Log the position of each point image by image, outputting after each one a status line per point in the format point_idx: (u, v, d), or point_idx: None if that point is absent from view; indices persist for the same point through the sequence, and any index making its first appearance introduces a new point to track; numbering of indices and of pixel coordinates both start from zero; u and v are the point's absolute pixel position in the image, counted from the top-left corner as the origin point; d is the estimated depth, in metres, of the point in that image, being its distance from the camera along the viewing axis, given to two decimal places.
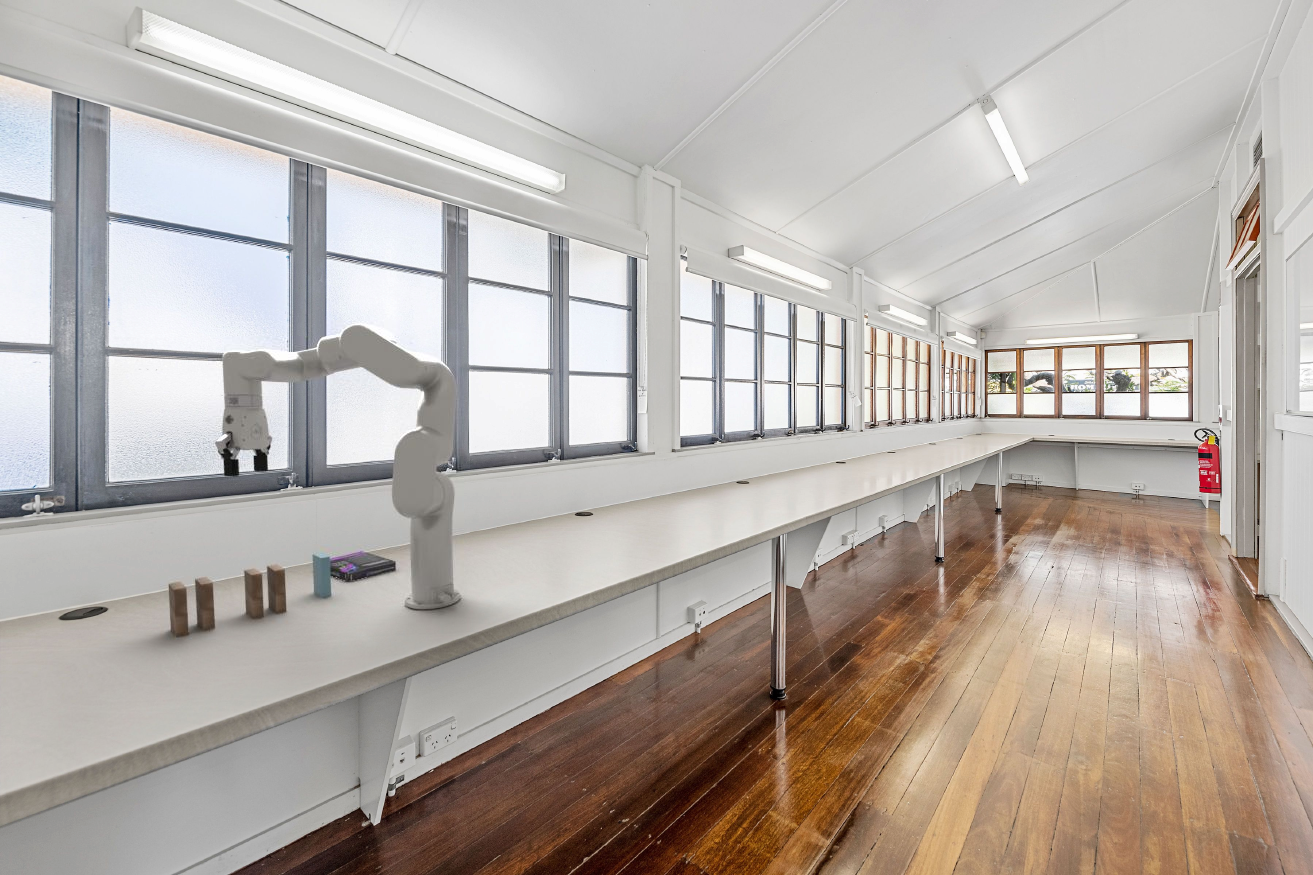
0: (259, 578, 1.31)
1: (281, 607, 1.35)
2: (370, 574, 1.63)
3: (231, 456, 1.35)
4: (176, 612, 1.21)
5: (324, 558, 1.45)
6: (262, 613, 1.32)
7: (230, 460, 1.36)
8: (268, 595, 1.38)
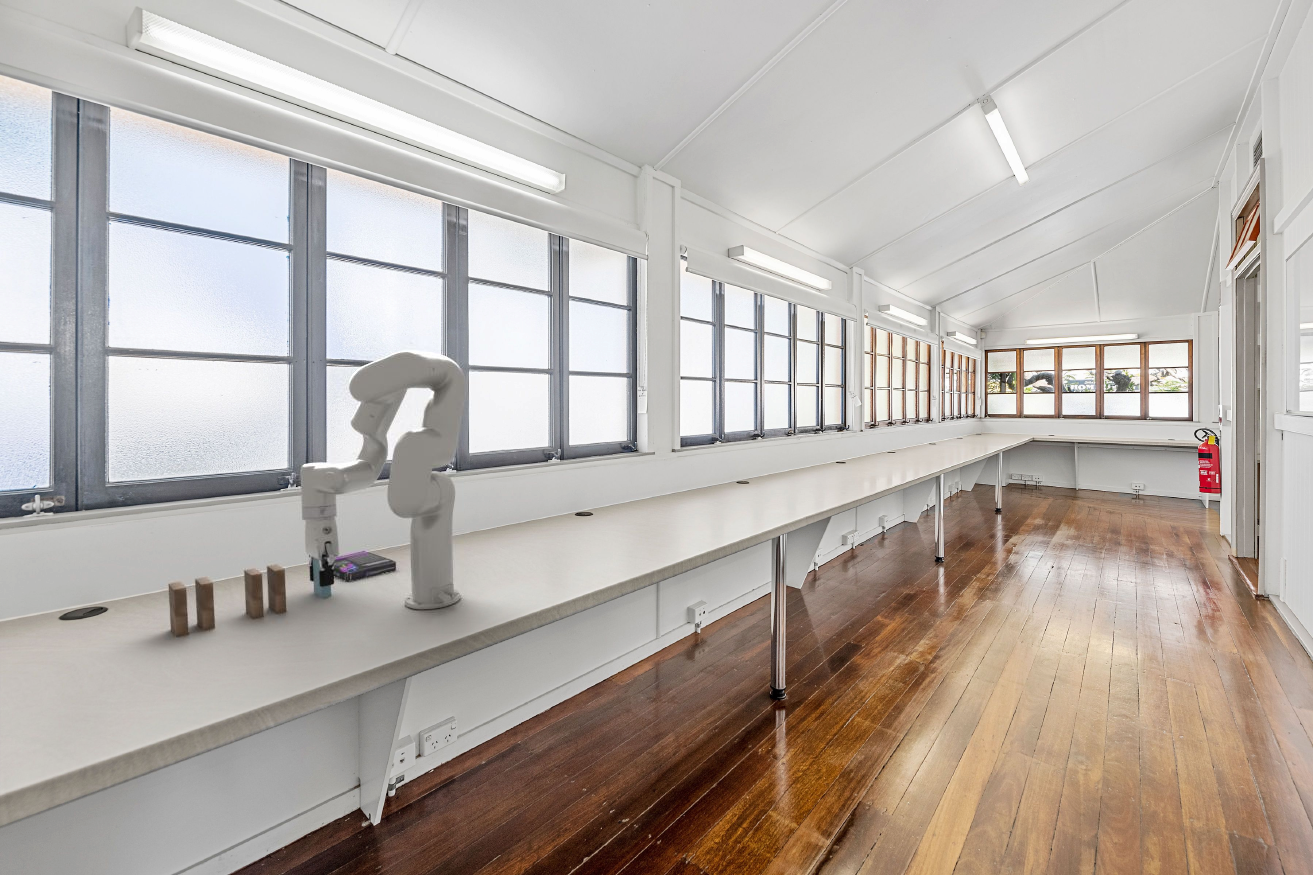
0: (259, 578, 1.31)
1: (281, 607, 1.35)
2: (370, 574, 1.63)
3: (332, 567, 1.45)
4: (176, 612, 1.21)
5: None
6: (262, 613, 1.32)
7: (330, 570, 1.45)
8: (268, 595, 1.38)
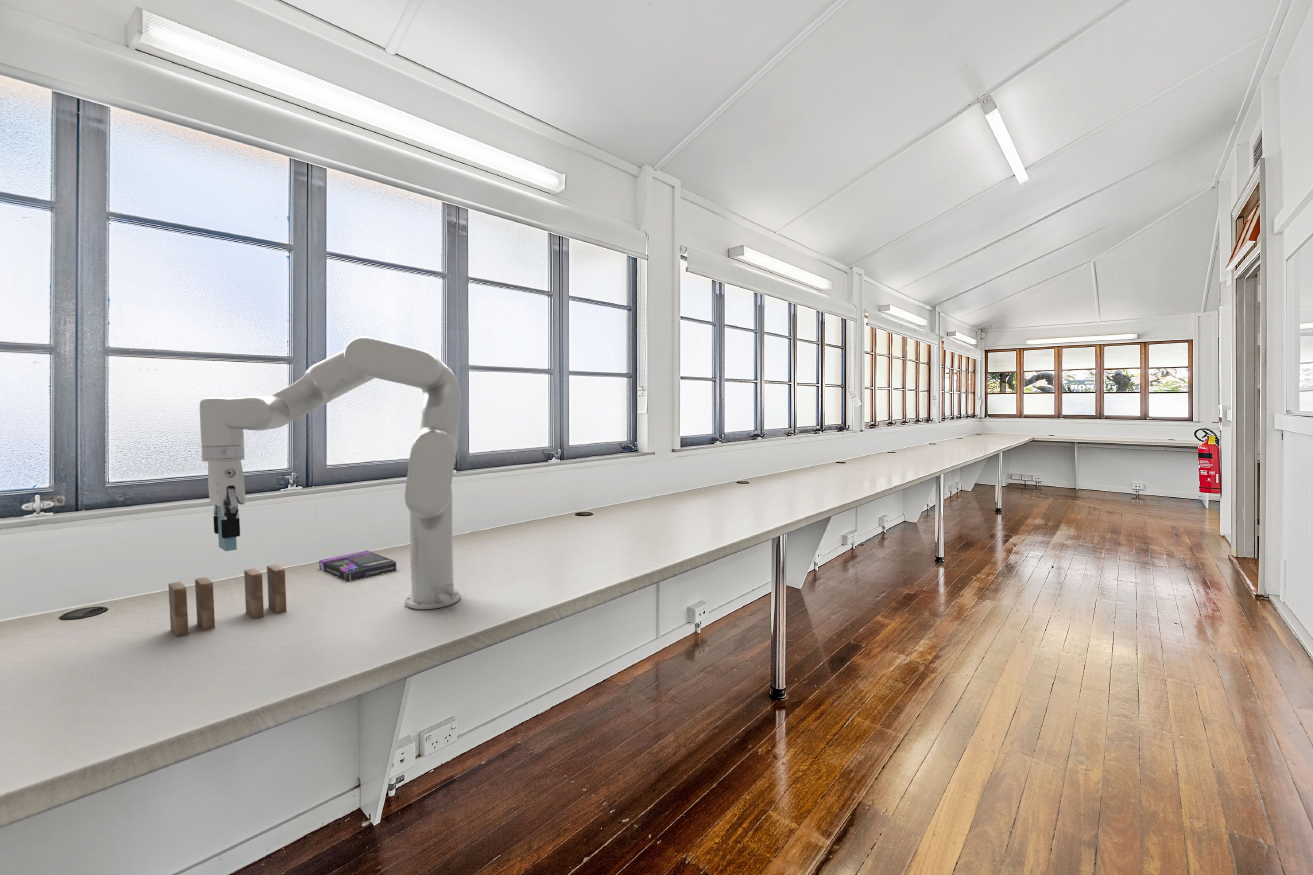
0: (259, 578, 1.31)
1: (281, 607, 1.35)
2: (370, 574, 1.63)
3: (237, 516, 1.26)
4: (176, 612, 1.21)
5: None
6: (262, 613, 1.32)
7: (234, 520, 1.26)
8: (268, 595, 1.38)
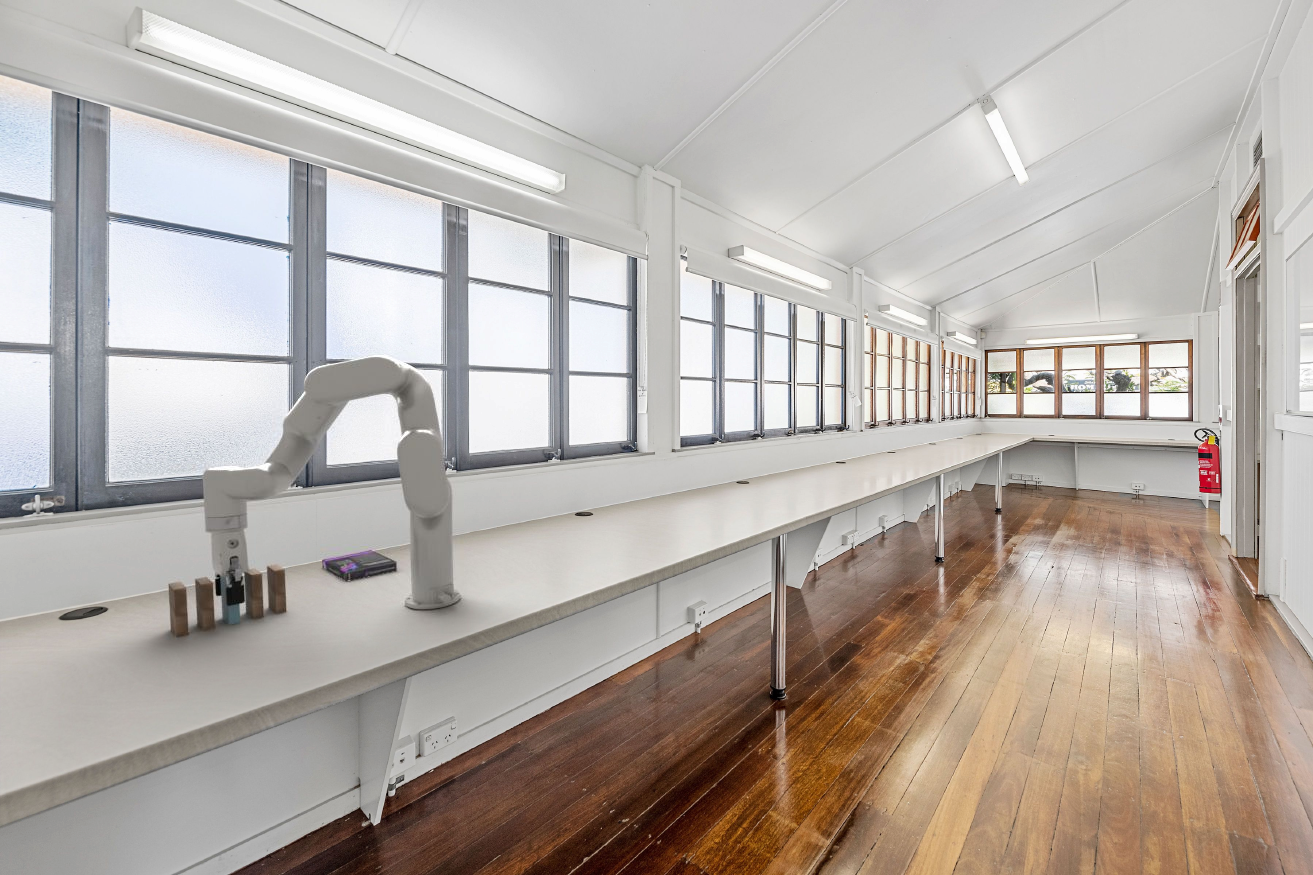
0: (259, 578, 1.31)
1: (281, 607, 1.35)
2: (369, 574, 1.63)
3: (242, 582, 1.26)
4: (176, 612, 1.21)
5: None
6: (262, 613, 1.32)
7: (239, 587, 1.26)
8: (268, 595, 1.38)
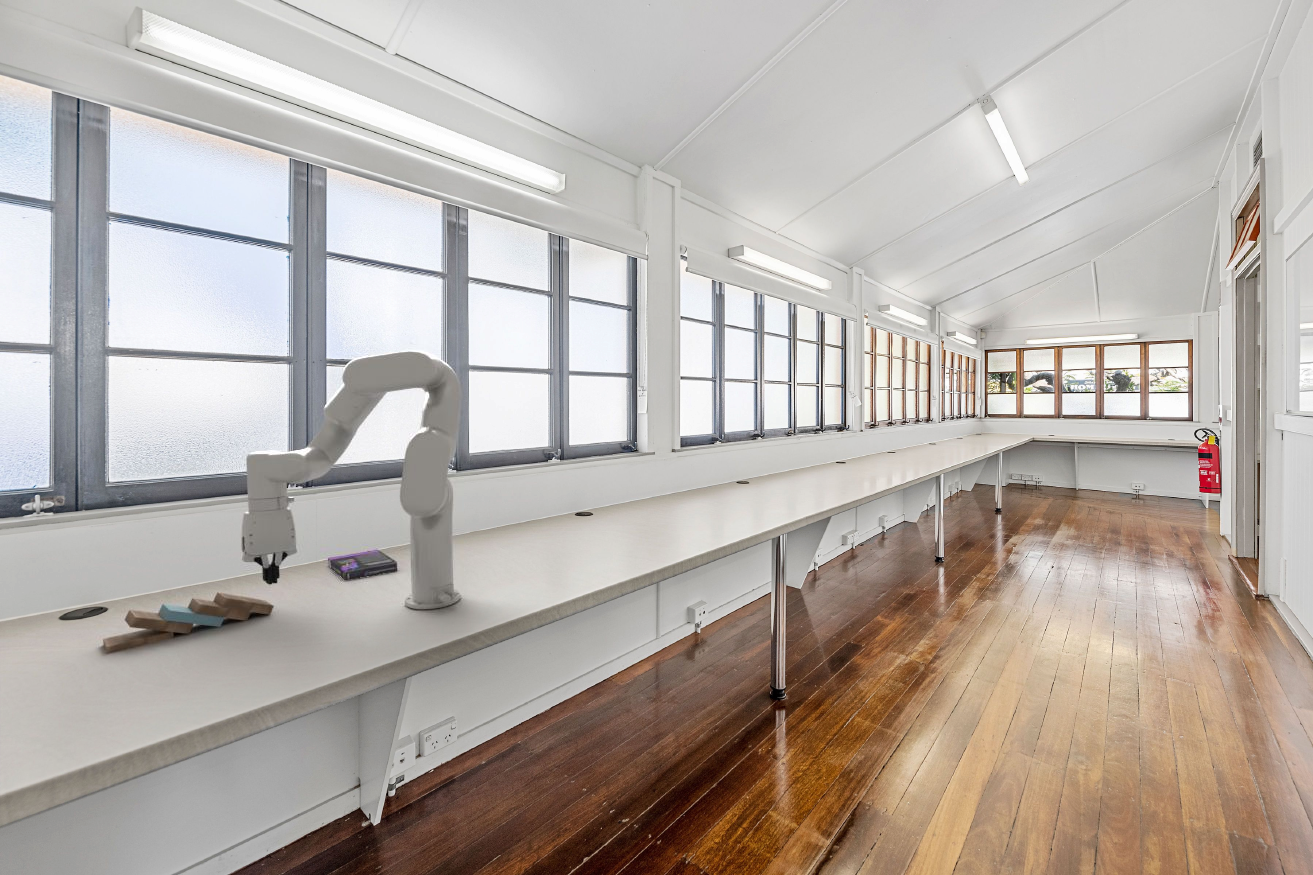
0: (204, 607, 1.24)
1: (266, 609, 1.33)
2: (369, 574, 1.63)
3: None
4: None
5: (168, 616, 1.19)
6: (246, 612, 1.30)
7: None
8: None
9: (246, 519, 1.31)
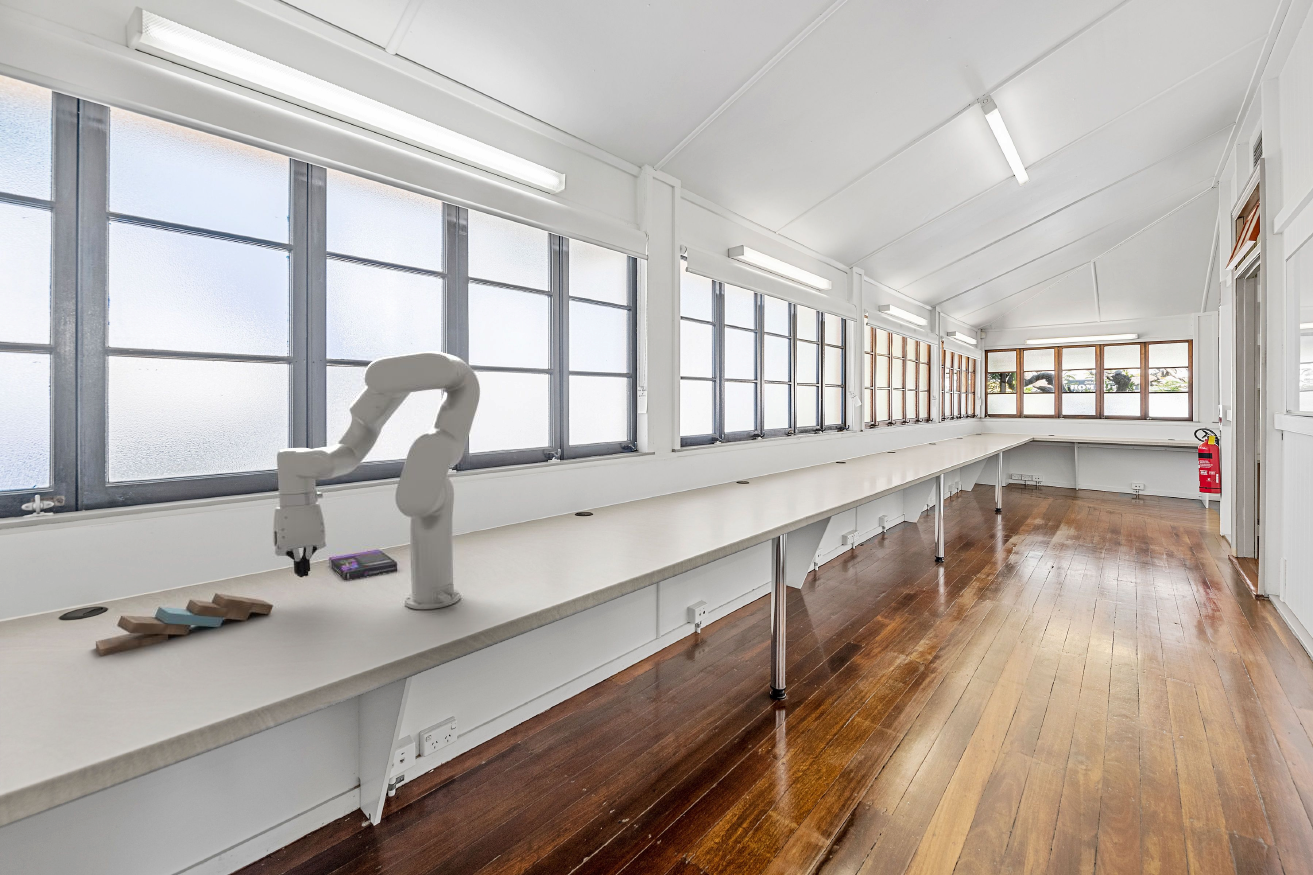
0: (204, 608, 1.24)
1: (266, 608, 1.33)
2: (369, 574, 1.63)
3: None
4: None
5: (168, 619, 1.18)
6: (245, 612, 1.30)
7: None
8: None
9: (278, 514, 1.35)
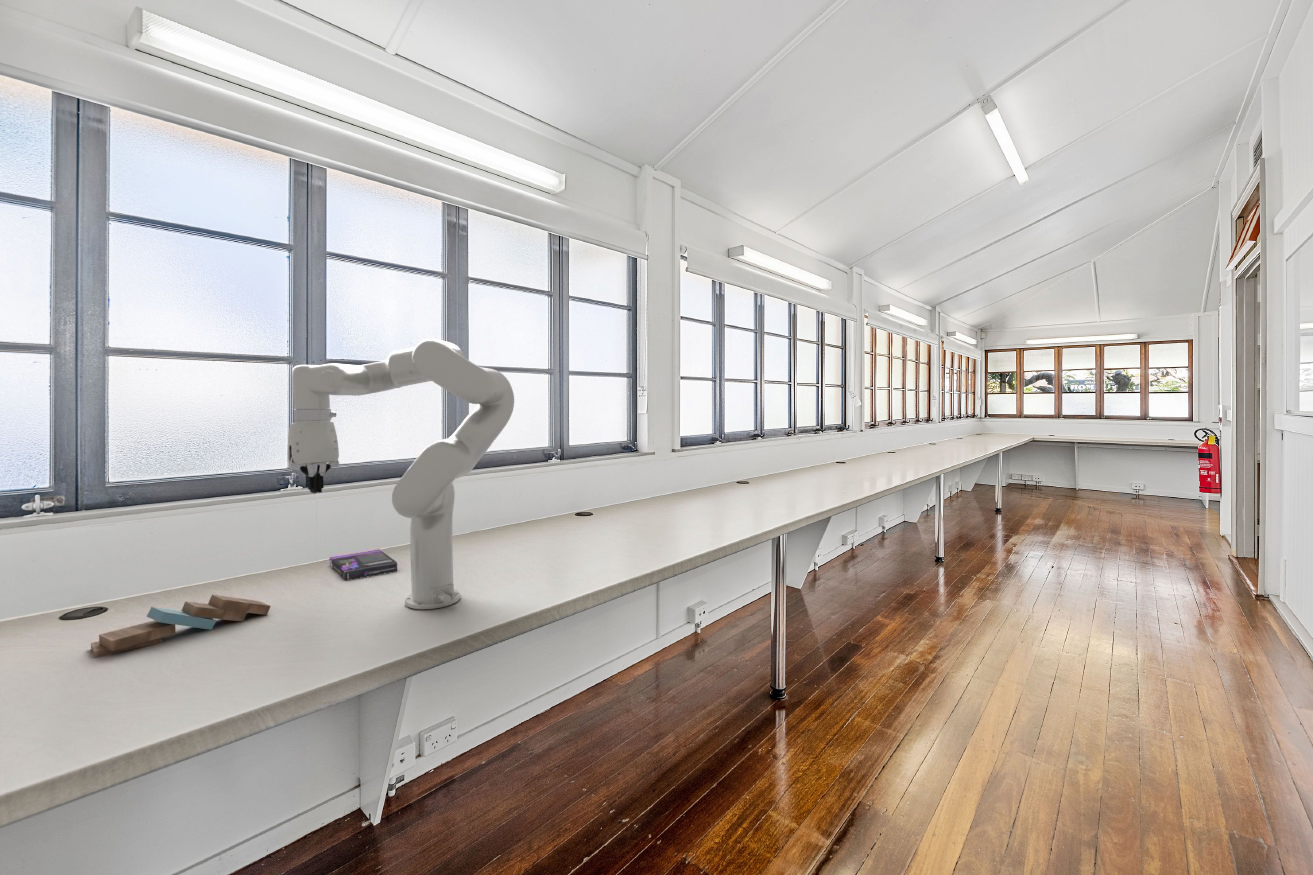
0: (200, 609, 1.23)
1: (263, 609, 1.33)
2: (369, 574, 1.63)
3: None
4: None
5: (162, 618, 1.17)
6: (242, 612, 1.29)
7: None
8: None
9: (293, 428, 1.37)
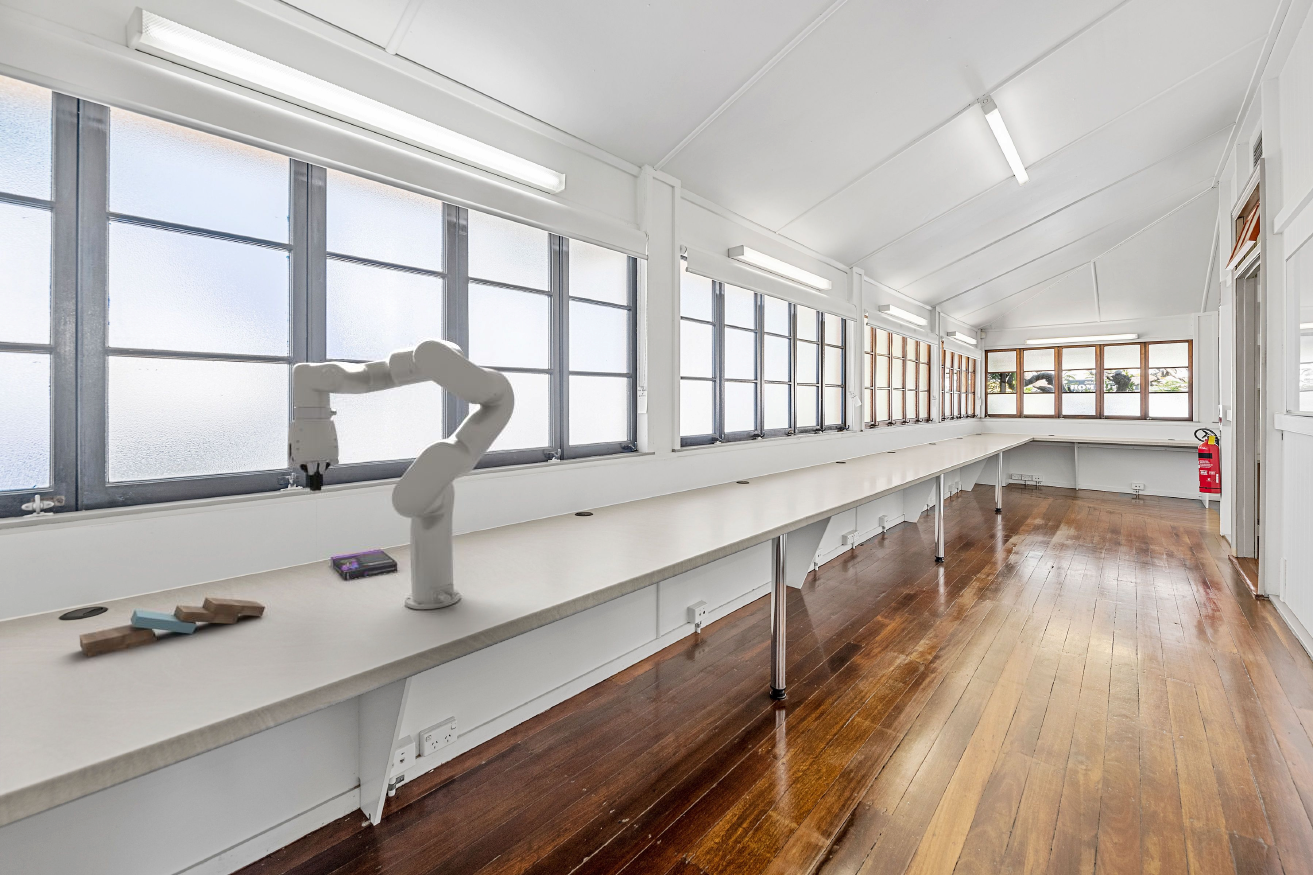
0: (189, 614, 1.22)
1: (257, 610, 1.31)
2: (369, 574, 1.63)
3: None
4: None
5: (136, 622, 1.16)
6: (234, 615, 1.28)
7: None
8: None
9: (293, 426, 1.37)
